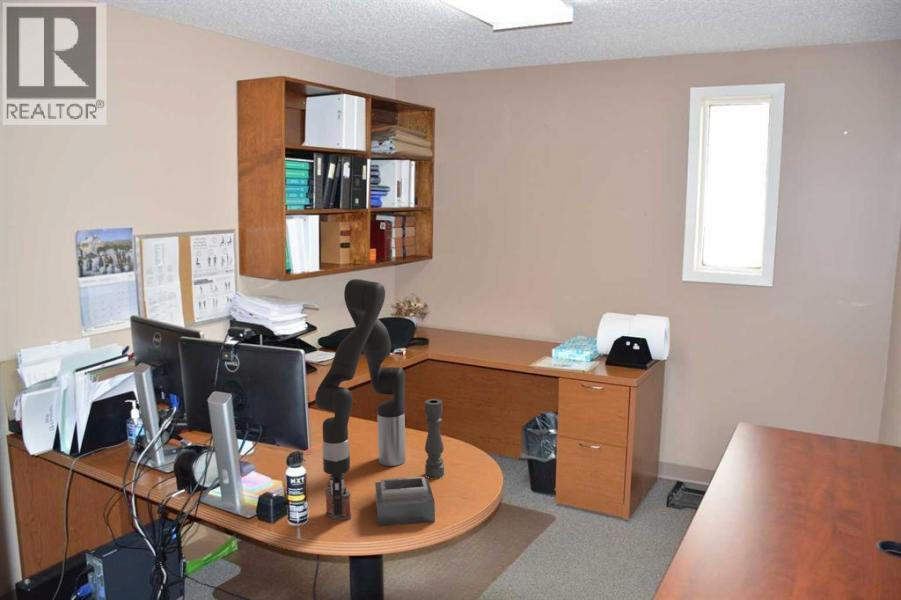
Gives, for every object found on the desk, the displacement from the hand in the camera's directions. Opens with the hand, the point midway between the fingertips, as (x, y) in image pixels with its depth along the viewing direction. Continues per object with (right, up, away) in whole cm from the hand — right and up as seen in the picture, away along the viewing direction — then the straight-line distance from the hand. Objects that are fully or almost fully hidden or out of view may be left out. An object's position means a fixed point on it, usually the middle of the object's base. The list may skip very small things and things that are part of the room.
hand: (338, 507), depth 204 cm
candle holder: (+27, +2, +28) cm, 39 cm away
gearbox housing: (+19, -2, +3) cm, 19 cm away
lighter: (0, -3, 0) cm, 3 cm away
